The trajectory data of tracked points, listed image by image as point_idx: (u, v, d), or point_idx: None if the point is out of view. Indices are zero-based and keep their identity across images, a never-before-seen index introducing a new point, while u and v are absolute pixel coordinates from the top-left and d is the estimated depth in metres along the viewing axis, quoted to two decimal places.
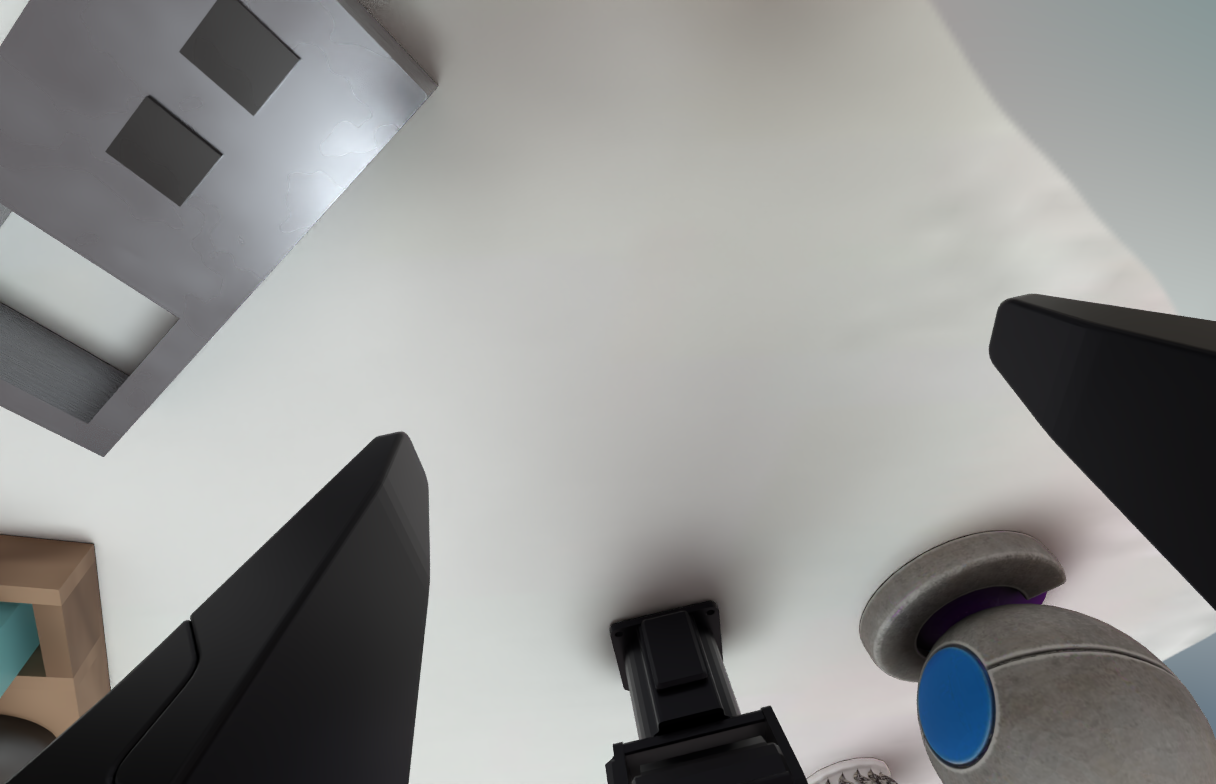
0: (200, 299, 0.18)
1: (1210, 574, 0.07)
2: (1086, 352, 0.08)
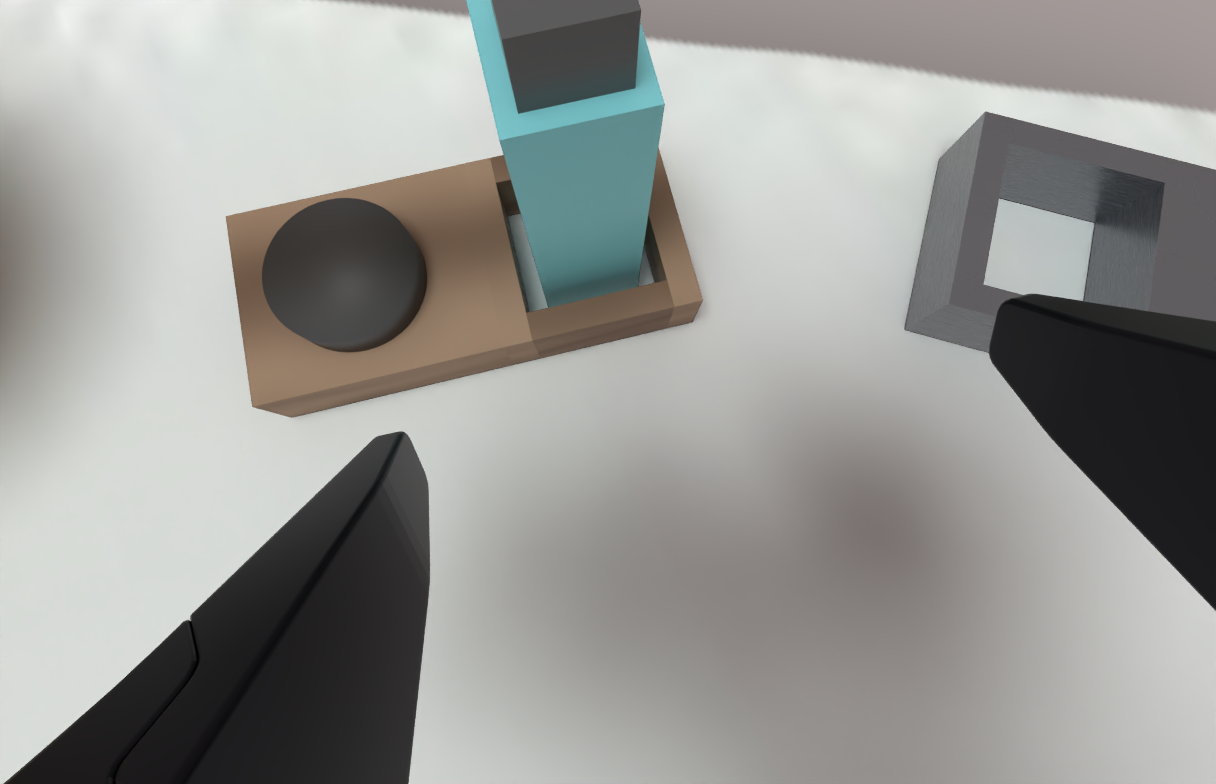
0: None
1: (1210, 574, 0.07)
2: (1086, 352, 0.08)
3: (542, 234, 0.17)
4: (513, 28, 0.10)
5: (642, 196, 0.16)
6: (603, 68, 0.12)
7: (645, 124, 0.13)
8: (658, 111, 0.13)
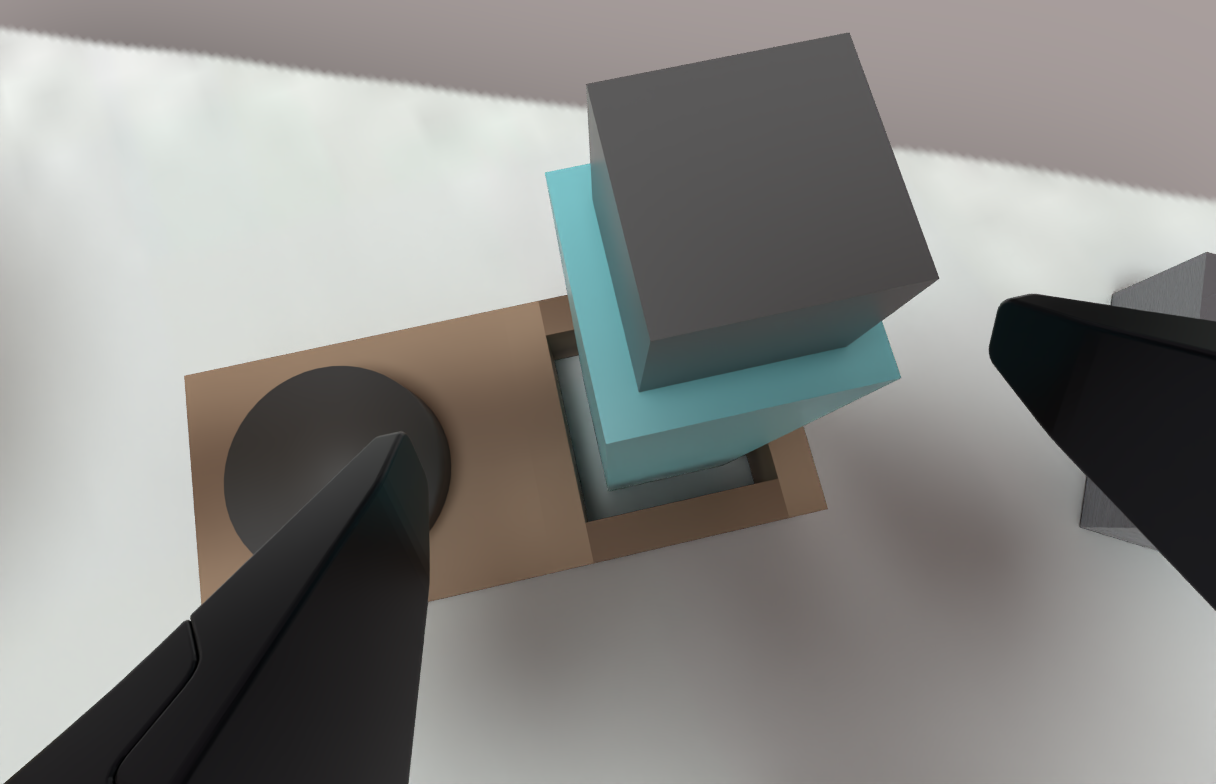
0: None
1: (1210, 573, 0.07)
2: (1087, 352, 0.08)
3: (629, 469, 0.11)
4: (674, 316, 0.05)
5: (788, 430, 0.10)
6: (814, 339, 0.06)
7: (851, 394, 0.07)
8: (883, 383, 0.07)
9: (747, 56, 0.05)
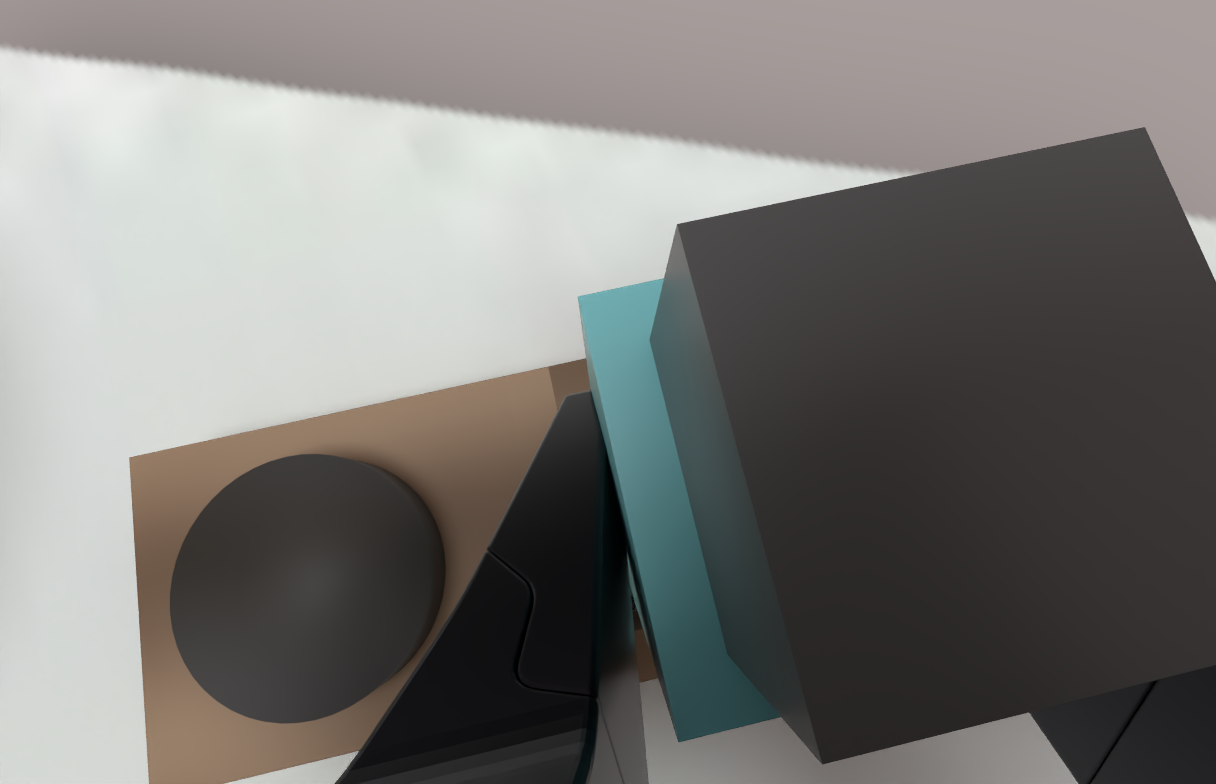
0: None
1: None
2: None
3: None
4: (867, 707, 0.03)
5: None
6: None
7: None
8: None
9: (966, 170, 0.03)
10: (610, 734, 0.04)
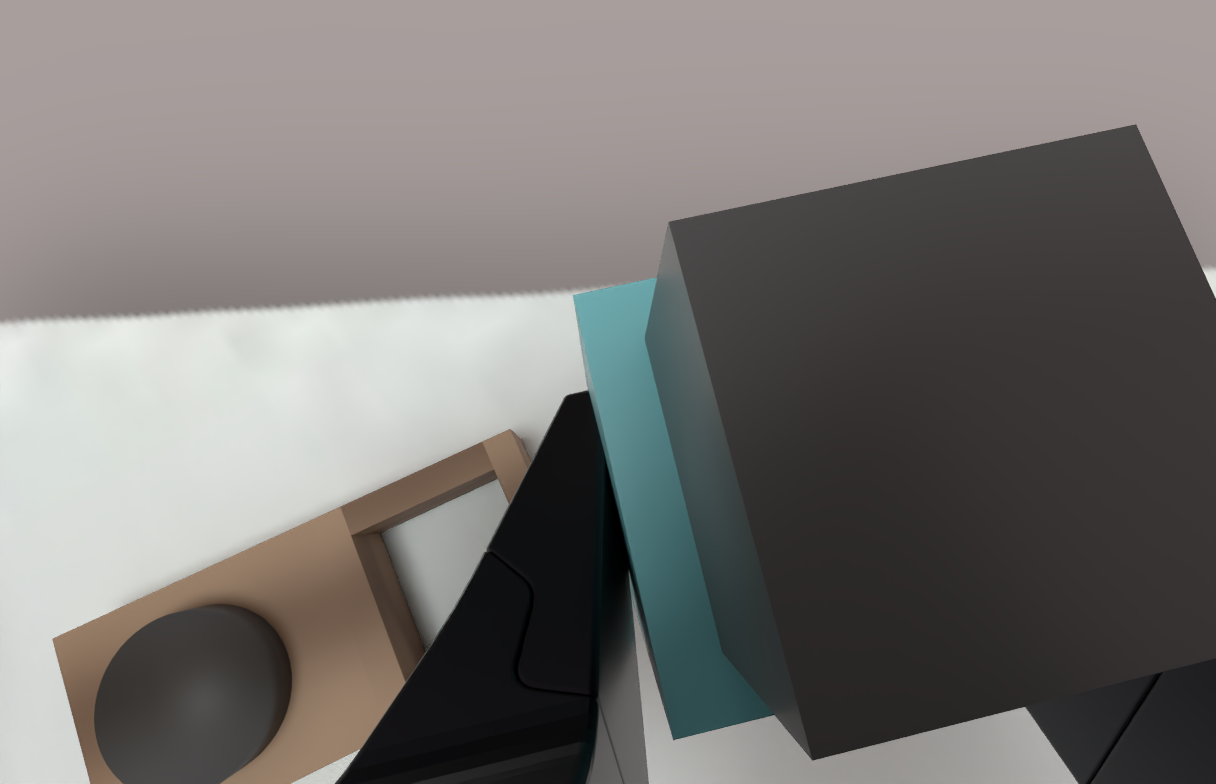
0: None
1: None
2: None
3: None
4: (857, 705, 0.03)
5: None
6: None
7: None
8: None
9: (957, 169, 0.03)
10: (610, 734, 0.04)
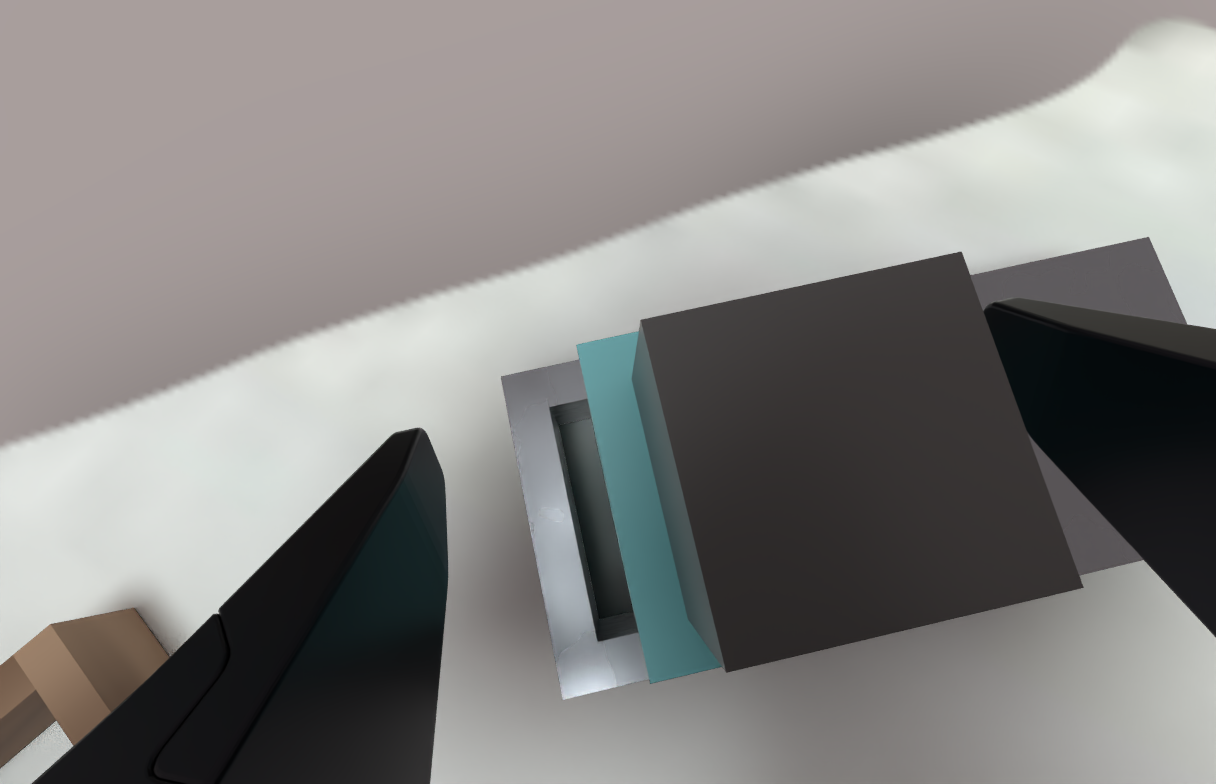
0: None
1: (1190, 578, 0.07)
2: (1069, 356, 0.08)
3: None
4: (757, 637, 0.04)
5: None
6: None
7: None
8: None
9: (839, 282, 0.04)
10: None
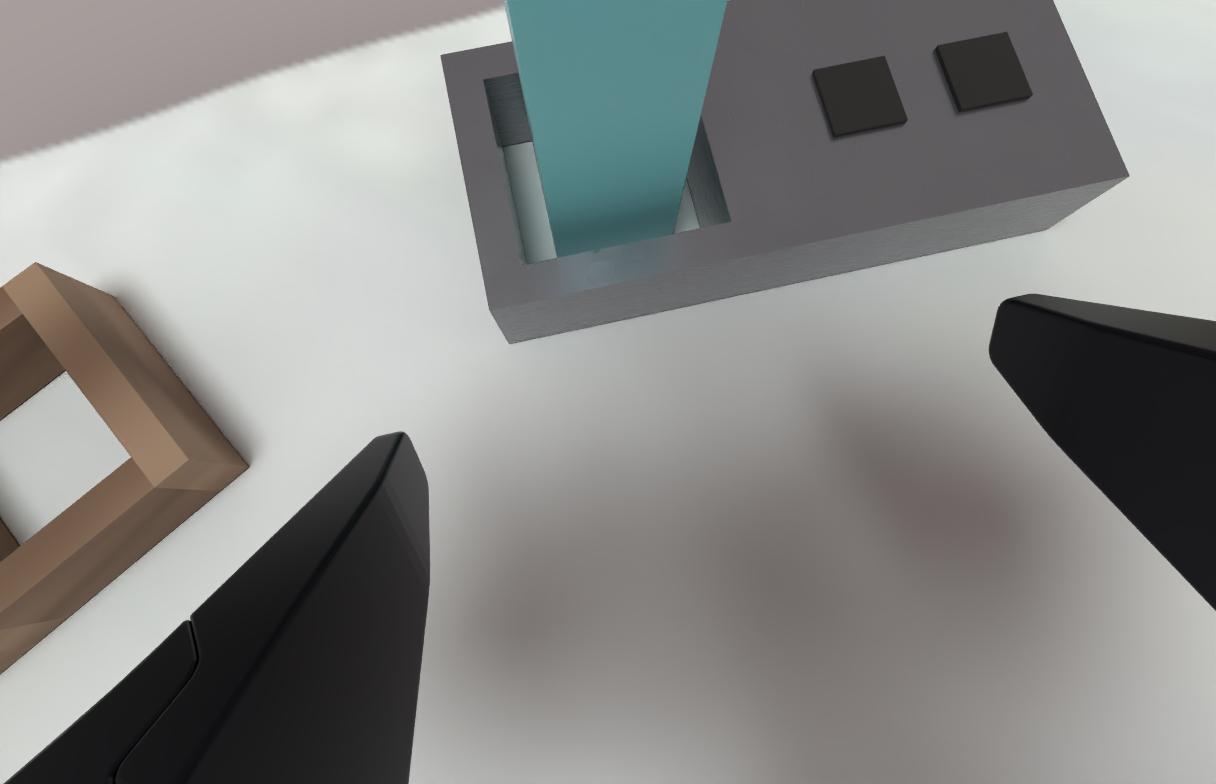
0: (770, 217, 0.15)
1: (1210, 574, 0.07)
2: (1087, 352, 0.08)
3: (554, 132, 0.12)
4: None
5: (698, 74, 0.11)
6: None
7: None
8: None
9: None
10: None
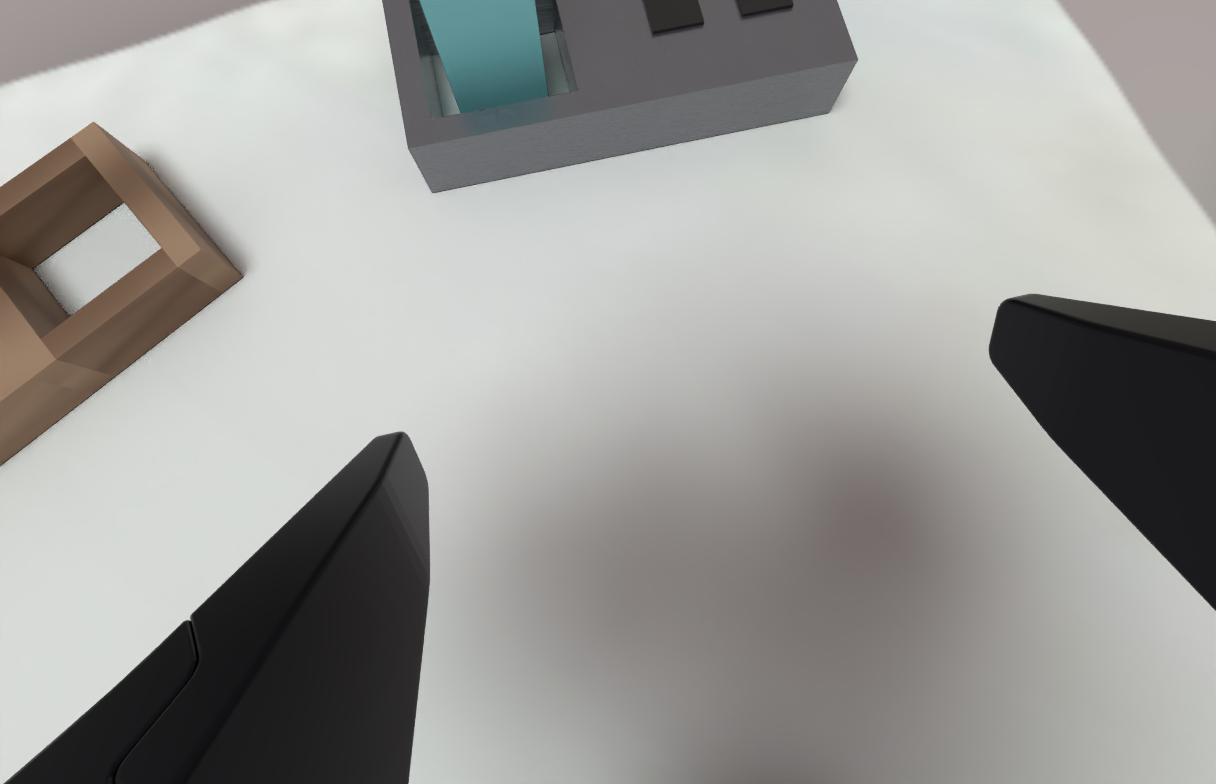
0: (605, 87, 0.22)
1: (1211, 574, 0.07)
2: (1087, 352, 0.08)
3: (437, 10, 0.19)
4: None
5: None
6: None
7: None
8: None
9: None
10: None
